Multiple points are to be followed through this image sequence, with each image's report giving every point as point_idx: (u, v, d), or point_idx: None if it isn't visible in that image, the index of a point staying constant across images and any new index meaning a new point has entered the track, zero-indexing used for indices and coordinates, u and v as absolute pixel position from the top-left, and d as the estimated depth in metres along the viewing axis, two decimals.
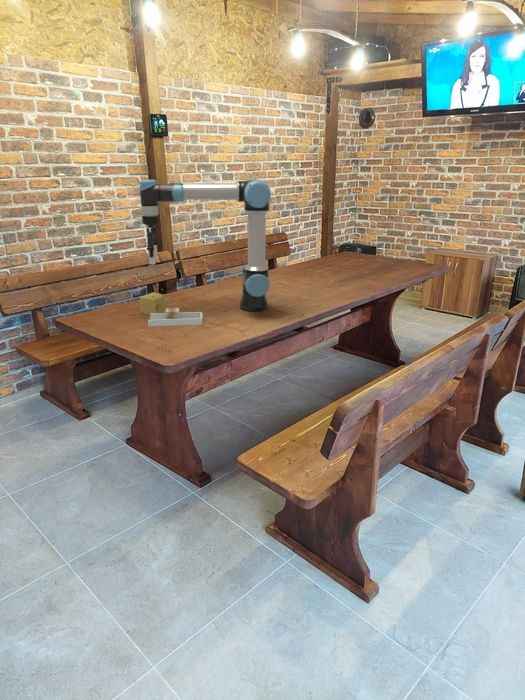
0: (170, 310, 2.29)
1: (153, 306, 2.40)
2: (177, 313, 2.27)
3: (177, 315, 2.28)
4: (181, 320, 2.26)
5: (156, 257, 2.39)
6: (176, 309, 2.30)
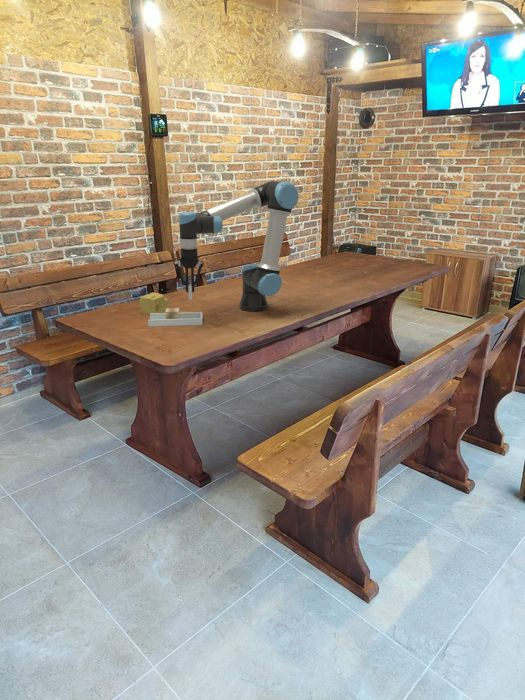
0: (170, 310, 2.29)
1: (153, 306, 2.40)
2: (177, 313, 2.27)
3: (177, 315, 2.28)
4: (181, 320, 2.26)
5: None
6: (176, 309, 2.30)
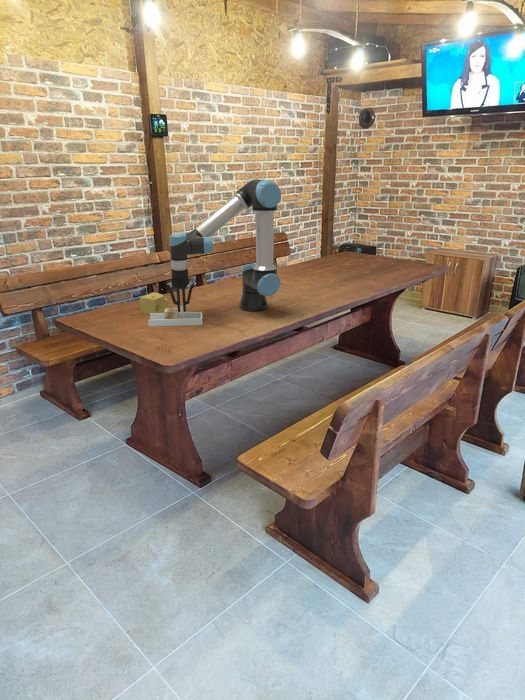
0: (169, 310, 2.29)
1: (153, 306, 2.40)
2: (176, 313, 2.27)
3: (176, 315, 2.28)
4: (181, 320, 2.26)
5: None
6: (175, 309, 2.30)
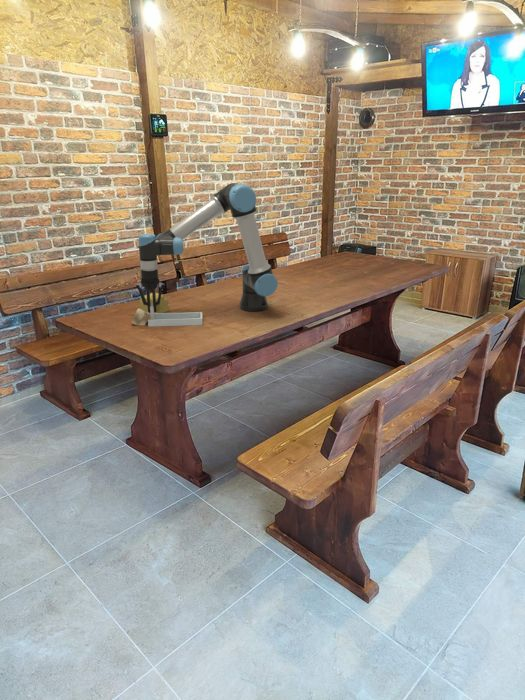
0: None
1: None
2: (137, 313, 2.25)
3: (139, 314, 2.25)
4: (181, 320, 2.26)
5: None
6: None
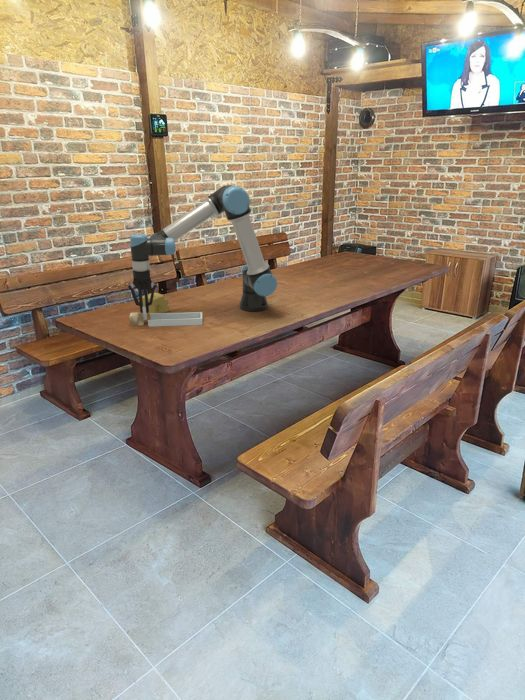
0: None
1: (153, 306, 2.40)
2: (131, 317, 2.25)
3: (133, 317, 2.25)
4: (181, 320, 2.26)
5: None
6: None
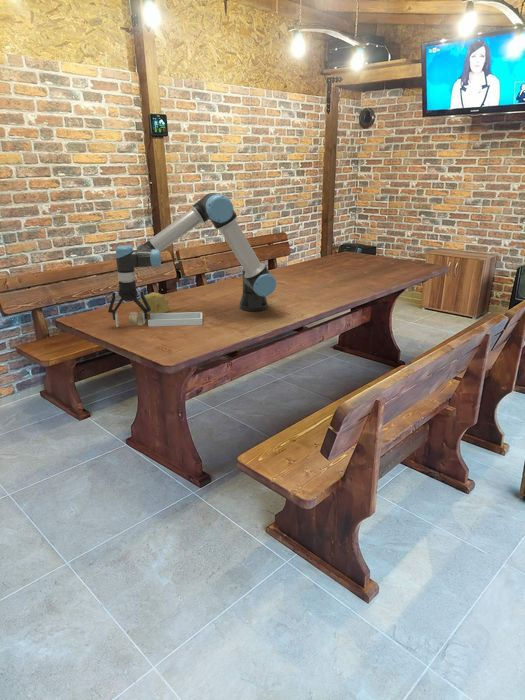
0: None
1: (153, 306, 2.40)
2: (130, 317, 2.25)
3: (132, 317, 2.25)
4: (181, 320, 2.26)
5: None
6: None
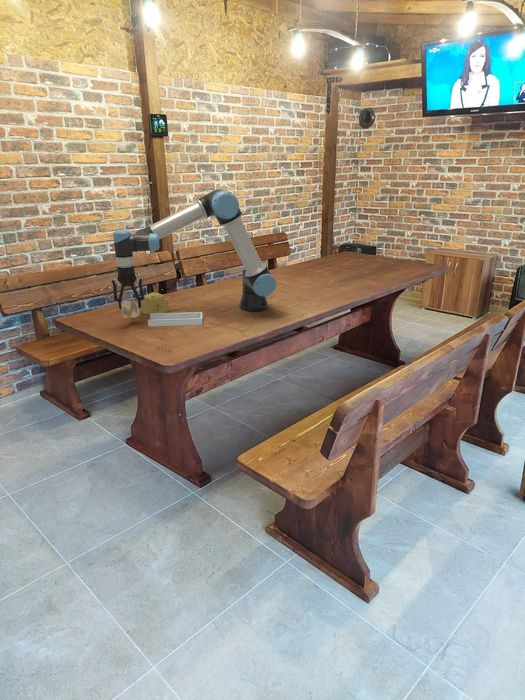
0: None
1: (153, 306, 2.40)
2: (124, 306, 2.23)
3: (126, 306, 2.23)
4: (181, 320, 2.26)
5: (137, 314, 2.27)
6: None
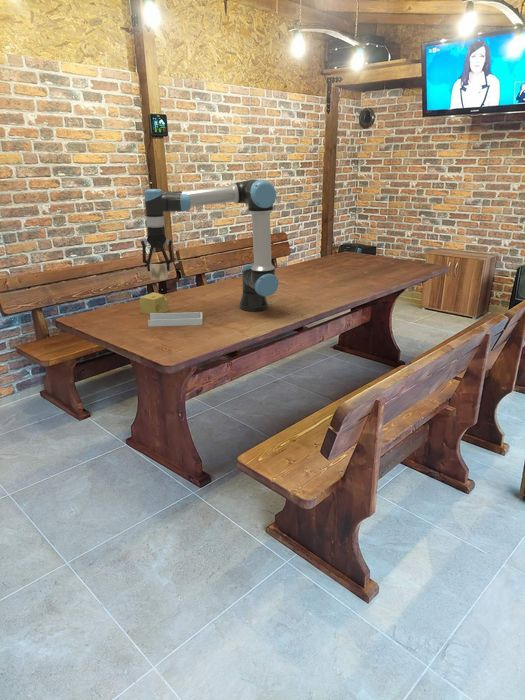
0: None
1: (153, 306, 2.40)
2: (153, 268, 2.18)
3: (155, 268, 2.18)
4: (181, 320, 2.26)
5: None
6: None
